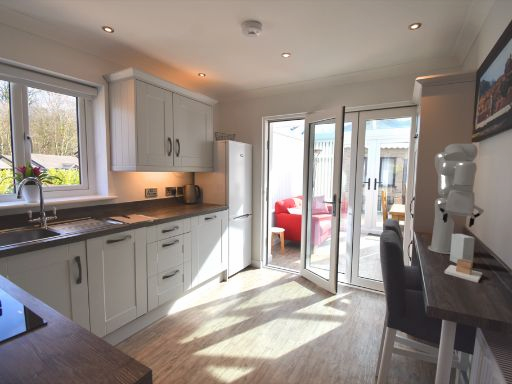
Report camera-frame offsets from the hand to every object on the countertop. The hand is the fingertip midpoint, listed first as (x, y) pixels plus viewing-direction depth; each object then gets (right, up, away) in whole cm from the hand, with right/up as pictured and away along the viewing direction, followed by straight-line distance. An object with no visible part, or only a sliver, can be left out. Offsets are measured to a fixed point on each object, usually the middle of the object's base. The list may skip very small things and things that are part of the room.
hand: (457, 224), depth 125 cm
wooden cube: (0, -21, -3) cm, 22 cm away
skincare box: (+10, -22, +11) cm, 26 cm away
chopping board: (0, -23, -4) cm, 23 cm away
